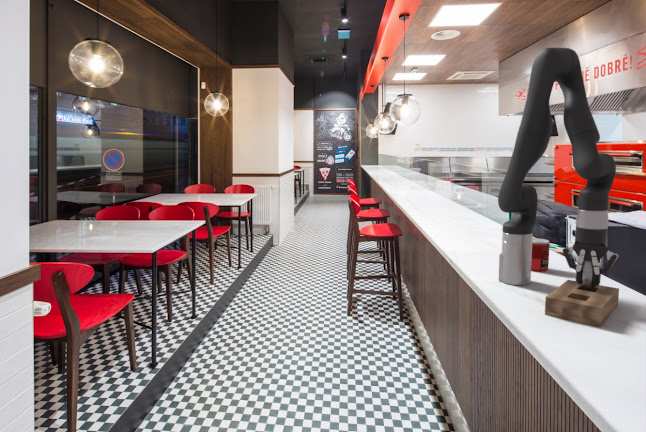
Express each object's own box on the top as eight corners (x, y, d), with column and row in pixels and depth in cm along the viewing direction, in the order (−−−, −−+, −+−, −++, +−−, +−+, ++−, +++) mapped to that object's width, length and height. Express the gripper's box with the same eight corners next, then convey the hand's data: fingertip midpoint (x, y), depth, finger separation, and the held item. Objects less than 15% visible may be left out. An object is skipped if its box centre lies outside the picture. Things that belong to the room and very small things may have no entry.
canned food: (545, 273, 152) (546, 243, 151) (521, 269, 158) (523, 240, 156) (550, 268, 158) (552, 239, 156) (528, 265, 163) (529, 237, 162)
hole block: (544, 314, 115) (545, 296, 115) (567, 295, 129) (568, 279, 128) (600, 327, 106) (601, 308, 105) (617, 305, 120) (619, 288, 119)
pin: (579, 294, 120) (581, 260, 119) (582, 291, 123) (584, 257, 121) (591, 296, 118) (594, 261, 117) (594, 293, 120) (597, 259, 119)
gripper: (559, 224, 120) (556, 283, 122) (618, 230, 110) (614, 293, 112) (567, 221, 125) (564, 277, 127) (624, 226, 115) (620, 286, 118)
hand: (587, 284), depth 120 cm, fingers closed on pin, 3 cm apart
